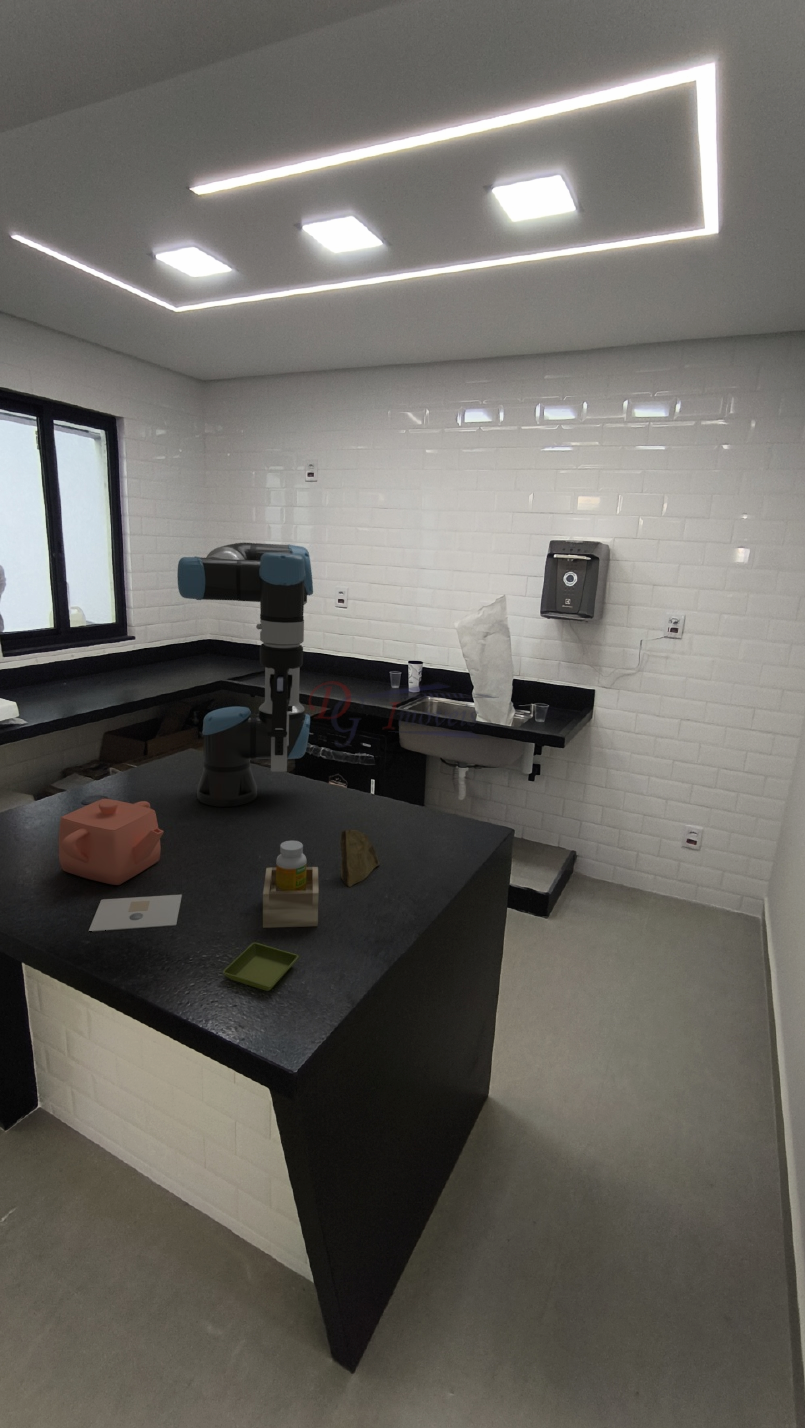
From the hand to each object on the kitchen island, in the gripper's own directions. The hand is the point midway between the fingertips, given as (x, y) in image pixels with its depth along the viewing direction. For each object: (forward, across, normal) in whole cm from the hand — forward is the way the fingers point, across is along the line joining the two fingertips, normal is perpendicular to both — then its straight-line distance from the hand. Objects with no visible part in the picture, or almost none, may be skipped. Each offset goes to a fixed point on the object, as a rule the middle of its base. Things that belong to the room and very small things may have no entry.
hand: (280, 757), depth 119 cm
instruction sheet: (+27, +8, -24) cm, 37 cm away
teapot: (+28, -8, -31) cm, 42 cm away
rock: (+27, -4, +17) cm, 32 cm away
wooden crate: (+27, +10, +3) cm, 28 cm away
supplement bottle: (+23, +9, +2) cm, 25 cm away
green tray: (+27, +26, -2) cm, 38 cm away
